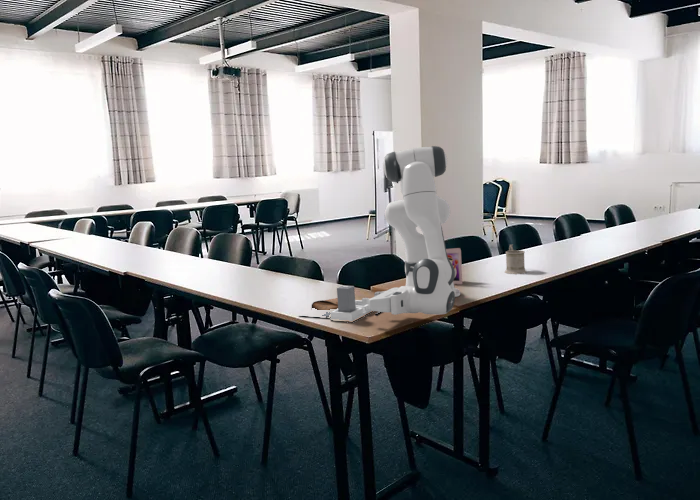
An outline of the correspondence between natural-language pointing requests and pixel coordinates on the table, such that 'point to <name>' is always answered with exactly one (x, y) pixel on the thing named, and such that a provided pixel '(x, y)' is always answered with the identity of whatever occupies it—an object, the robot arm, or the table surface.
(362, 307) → the white compartment tray
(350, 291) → the block
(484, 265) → the table surface
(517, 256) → the stone pedestal
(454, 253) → the greeting card
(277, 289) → the table surface
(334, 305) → the sunglasses case
